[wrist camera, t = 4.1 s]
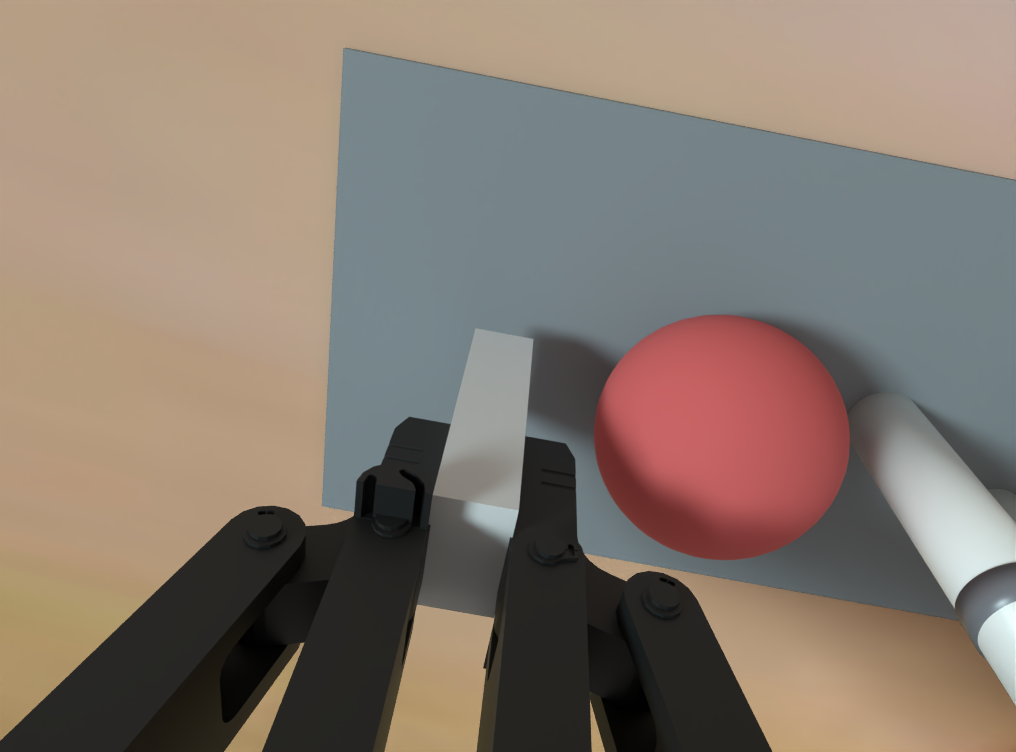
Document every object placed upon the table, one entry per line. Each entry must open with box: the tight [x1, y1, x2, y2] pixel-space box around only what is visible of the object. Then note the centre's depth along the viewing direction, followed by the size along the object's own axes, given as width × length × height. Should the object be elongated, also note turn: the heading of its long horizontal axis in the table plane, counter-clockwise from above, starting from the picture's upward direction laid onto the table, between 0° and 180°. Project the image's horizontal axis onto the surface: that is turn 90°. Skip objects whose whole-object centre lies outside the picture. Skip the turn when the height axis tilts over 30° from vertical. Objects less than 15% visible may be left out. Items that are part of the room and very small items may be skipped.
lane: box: [322, 48, 1016, 621], centre depth 20 cm, size 14×26×1 cm, turn 80°
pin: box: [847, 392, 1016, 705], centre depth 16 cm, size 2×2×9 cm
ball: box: [594, 315, 850, 560], centre depth 17 cm, size 6×6×6 cm
